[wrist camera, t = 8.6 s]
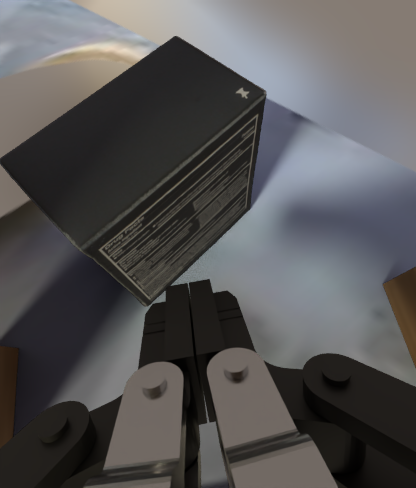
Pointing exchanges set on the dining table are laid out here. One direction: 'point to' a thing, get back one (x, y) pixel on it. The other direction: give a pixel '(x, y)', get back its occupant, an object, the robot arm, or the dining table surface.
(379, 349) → the dining table surface
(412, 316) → the tunnel
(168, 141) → the small box
